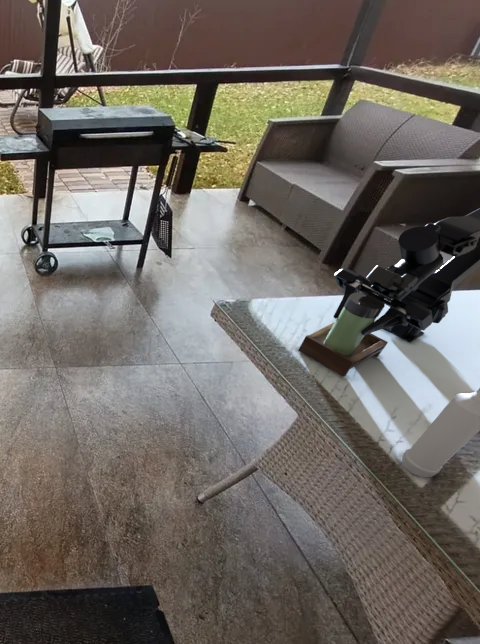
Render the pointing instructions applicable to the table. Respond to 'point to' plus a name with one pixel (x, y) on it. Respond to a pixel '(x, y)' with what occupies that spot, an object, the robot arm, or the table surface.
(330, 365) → the wooden tray
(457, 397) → the bottle
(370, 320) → the spice jar
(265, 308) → the table surface
